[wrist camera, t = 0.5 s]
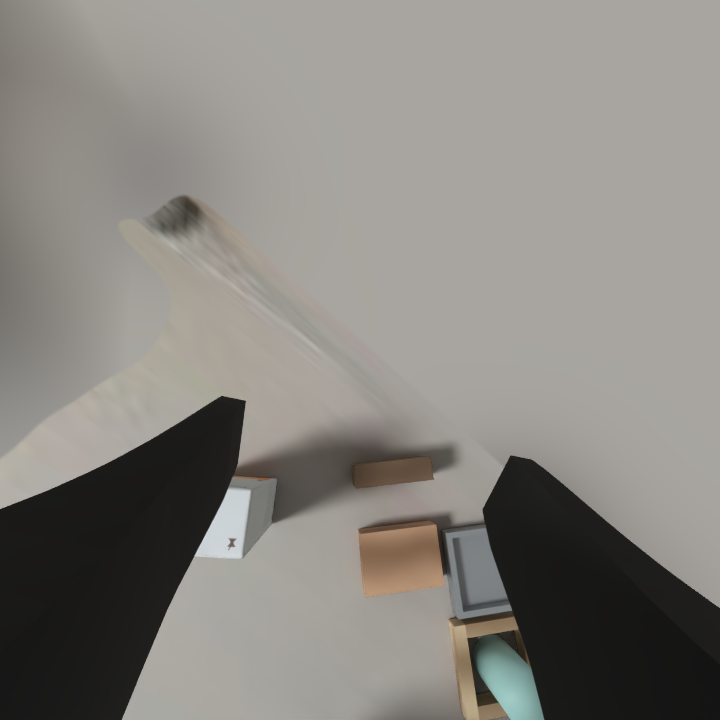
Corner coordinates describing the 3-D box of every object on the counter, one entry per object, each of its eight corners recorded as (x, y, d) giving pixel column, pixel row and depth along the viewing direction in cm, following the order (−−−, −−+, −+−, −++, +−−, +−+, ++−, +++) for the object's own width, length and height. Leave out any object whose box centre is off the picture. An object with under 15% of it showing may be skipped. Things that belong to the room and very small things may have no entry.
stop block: (423, 477, 36) (433, 479, 33) (353, 485, 35) (356, 488, 32) (420, 456, 36) (430, 456, 33) (351, 464, 36) (354, 465, 32)
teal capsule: (514, 677, 32) (556, 725, 27) (476, 684, 32) (510, 735, 26) (506, 631, 33) (545, 668, 28) (469, 637, 33) (500, 676, 27)
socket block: (536, 696, 32) (546, 707, 31) (461, 711, 31) (468, 723, 30) (520, 607, 34) (529, 614, 32) (448, 619, 33) (454, 626, 32)
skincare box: (278, 477, 35) (255, 488, 23) (271, 525, 34) (244, 562, 22) (213, 471, 34) (157, 480, 23) (205, 520, 33) (141, 555, 22)
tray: (514, 602, 34) (522, 608, 32) (452, 612, 33) (458, 619, 32) (499, 522, 36) (507, 524, 34) (441, 530, 35) (446, 533, 33)
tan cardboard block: (436, 576, 34) (444, 585, 32) (362, 586, 33) (365, 597, 31) (428, 519, 35) (436, 524, 33) (357, 528, 35) (360, 534, 32)
